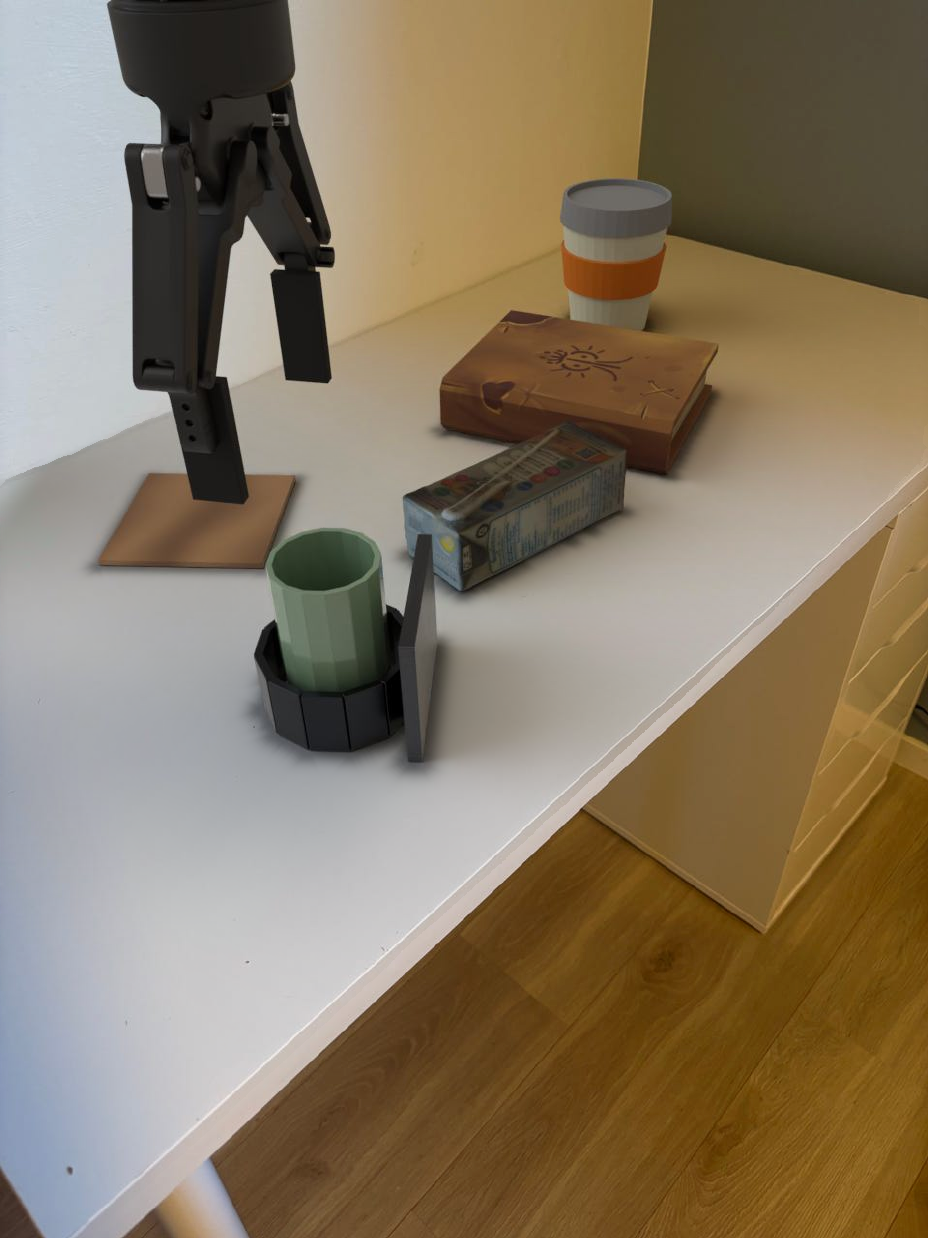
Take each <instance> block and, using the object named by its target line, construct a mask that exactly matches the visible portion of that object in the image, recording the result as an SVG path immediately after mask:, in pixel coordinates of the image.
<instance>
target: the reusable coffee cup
mask: <svg viewBox="0 0 928 1238" xmlns="http://www.w3.org/2000/svg"><path fill="white" fill-rule="evenodd" d="M672 196H673V194H672V192H671V190H670V189H668V188H667V187H665V186H664V185H661V184H659V183H655V182H651V181H647V180H643V179H636V178H635V179H634V178H621V177H619V178H618V177H615V178H613V177H611V178H609V177H607V178H595V179H589V180H584V181H579V182H576V183H574V184H572V185H570V186H568V187H566V188H565V189H564V191H563V193H562V200H561V208H560V214H559V222H560V223H561V225H562V229H563V240H562V241H561V243H560V249H561V250H560V251H561V260H562V261H561V262H562V263H561V264H562V273H563V283H564V286H565V287H566V289H567V292H568V293H567V294H568V305H569V317H570V318H569V319H570V320H576V321H582V322H588V323H595V324H601V325H607V326H613V327H619V328H626V329H632V330H638V331H644V329H645V328H646V322H647V319H648V313H649V311H650V306H651V301H652V298H653V297H652V296H653V293H654V291H656V289H657V288H658V286H659V283H660V282H659V281H660V277H661V273H662V269H663V264H664V260H665V256H666V252H667V245H666V243H665V240H666V236H667V231H668V228H669V227H670V226H671V224H672V220H673V197H672Z"/></svg>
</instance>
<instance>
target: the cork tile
mask: <svg viewBox="0 0 928 1238" xmlns="http://www.w3.org/2000/svg"><path fill="white" fill-rule="evenodd" d="M245 477H246V483H247V488H248V494H249V497H248V499H247V500H246V502H245V503H244V505H242V504H232V503H223V502H213V501H203V500H193V497H192V493H191V488H190V484H189V479H188V475H187V473H171V472H170V473H169V472H168V473H167V472H166V473H165V472H164V473H163V472H150V473H148V474H147V476H146V477H145V479H144V481H143V482H142V484H141V486H140V488H139V489H138V491H137V493H136V494H135V495H134V498H133V500H132V501H131V503H130V504H129V506H128V507H127V509H126V511H125V513H124V514H123V516H122V518H121V520H120V521H119V523H118V525H117V526H116V529H114V532H113V533H112V535H111V537H110V538H109V540H108V542H107V544H106V545H105V547H104V549H103V550H102V552H101V554H100V555H99V557H98V559H97V561H98V564H99V565H98V566H123V567H124V566H126V567H127V566H130V567H170V568H171V567H173V568H175V567H176V568H218V569H219V568H222V569H223V568H226V569H230V568H231V569H264V567H265V565H266V562H267V559H268V557H269V554H270V552H271V548H272V545H273V543H274V540H275V538H276V535H277V532H278V529H279V526H280V525H281V521H282V518H283V515H284V512H285V510H286V507H287V504H288V502H289V500H290V497H291V493H292V491H293V488H294V486H295V483H296V475H294V474H245Z"/></svg>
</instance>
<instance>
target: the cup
mask: <svg viewBox="0 0 928 1238" xmlns="http://www.w3.org/2000/svg"><path fill="white" fill-rule="evenodd" d="M264 567H265V572H266V577H267V582H268V583H267V584H268V587H269V588H268V589H269V593H270V600H271V604H272V610H273V616H274V619H275V622H276V627H277V633H278V638H279V644H280V649H281V654H282V660H283V665H284V671H285V676H286V678H285V682H286V683H288V684H290V685H292V686H294V687H296V688H299V689H301V690H303V691H325V692H344V691H347V690H350V689H353V688H356V687H359V686H362V685H364V684H367V683H370V682H373V681H376V680H379V679H380V678H381V677H382V676H383V675H384V674H385V673H386V672H387V671H388V670H389V669H391V668H392V663H391V657H390V646H389V635H388V624H387V612H386V604H387V602H386V601H387V600H386V591H385V581H384V570H383V558H382V553H381V551H380V549H379V546H378V545H377V543H376V541H374V539H371V538H370V537H369V536H367V535H366V534H364V533H363V532H359V531H355V530H352V529H349V528H345V527H318V528H314V529H308V530H304V531H300V532H297V533H295V534H293V535H291V536H290V537H287V538H285V539H283V540H282V541H280V542H279V543H278V544H277V545H276V546H275V547H274V548H273V549H272V550H270V551H269V554H268V556H267V559H266V562H265V565H264Z"/></svg>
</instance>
